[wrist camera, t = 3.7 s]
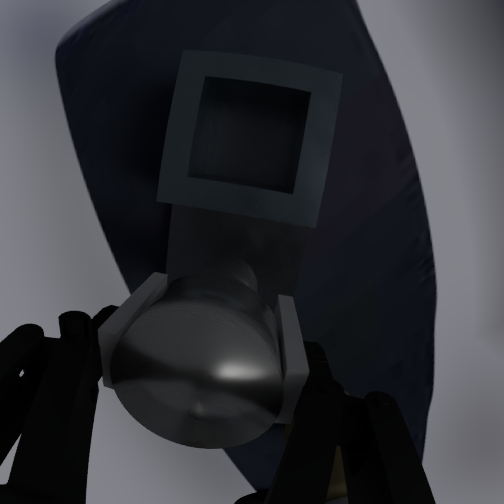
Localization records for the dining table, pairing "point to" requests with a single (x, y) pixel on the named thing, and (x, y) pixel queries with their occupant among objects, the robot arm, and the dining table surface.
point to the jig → (246, 163)
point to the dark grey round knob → (203, 359)
